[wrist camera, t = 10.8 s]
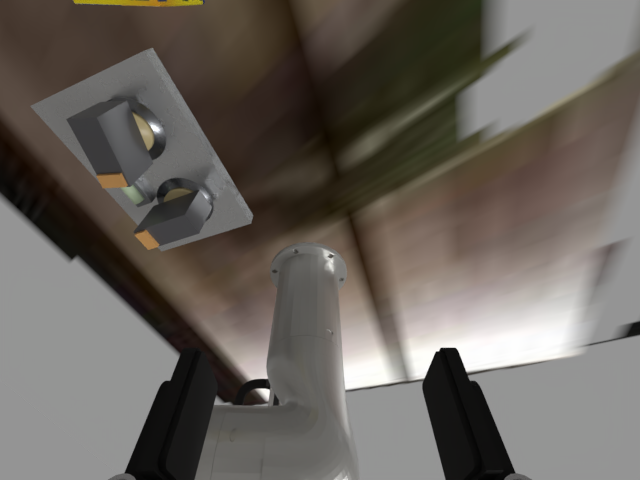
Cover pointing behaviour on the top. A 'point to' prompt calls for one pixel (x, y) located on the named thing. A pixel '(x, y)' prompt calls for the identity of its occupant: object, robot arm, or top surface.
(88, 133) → the knob
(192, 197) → the knob
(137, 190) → the bubble vial
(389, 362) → the top surface
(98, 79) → the levelling plate
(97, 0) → the supplement box
